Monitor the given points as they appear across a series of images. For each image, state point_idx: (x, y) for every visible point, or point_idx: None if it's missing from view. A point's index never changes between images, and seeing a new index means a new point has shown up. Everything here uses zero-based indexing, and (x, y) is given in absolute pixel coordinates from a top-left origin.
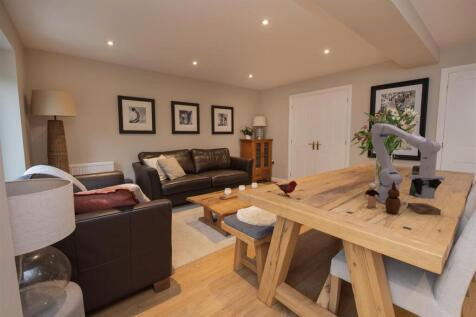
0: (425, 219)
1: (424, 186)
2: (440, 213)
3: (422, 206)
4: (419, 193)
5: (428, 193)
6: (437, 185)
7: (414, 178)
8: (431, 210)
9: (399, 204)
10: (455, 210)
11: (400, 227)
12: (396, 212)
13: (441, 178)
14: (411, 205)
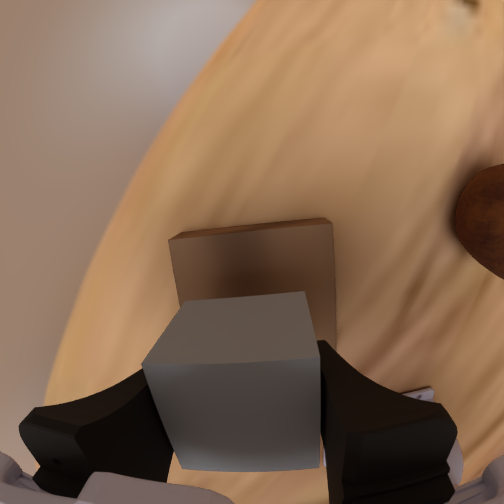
0: (338, 104)
1: (232, 453)
2: (178, 234)
3: (273, 293)
4: (326, 343)
5: (239, 324)
6: (93, 401)
7: (458, 498)
8: (237, 230)
9: (502, 173)
10: (69, 342)
11: (485, 3)
12: (474, 177)
13: (10, 484)
14: (335, 319)
